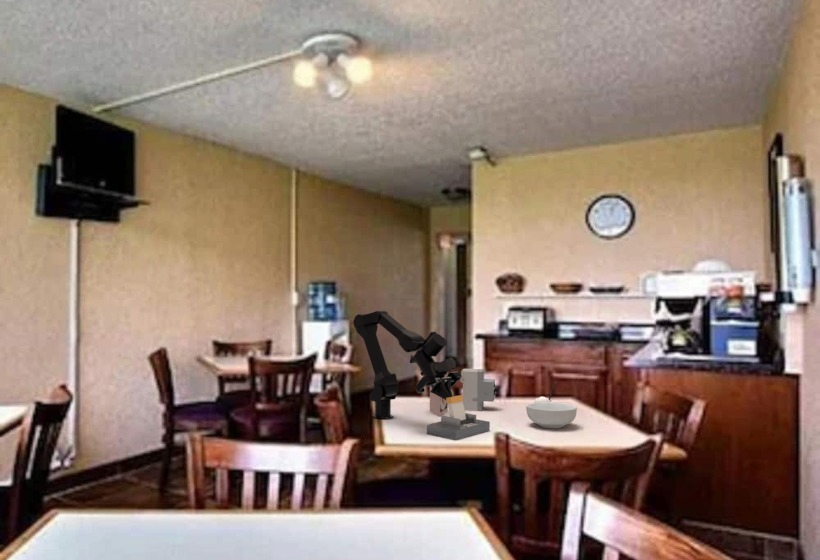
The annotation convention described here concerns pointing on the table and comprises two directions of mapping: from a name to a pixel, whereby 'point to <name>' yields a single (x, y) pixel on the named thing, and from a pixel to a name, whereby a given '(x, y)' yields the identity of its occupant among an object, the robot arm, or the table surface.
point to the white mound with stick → (544, 399)
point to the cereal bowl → (551, 414)
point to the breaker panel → (458, 427)
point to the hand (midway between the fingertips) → (452, 402)
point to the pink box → (438, 404)
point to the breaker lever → (456, 407)
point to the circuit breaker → (477, 389)
